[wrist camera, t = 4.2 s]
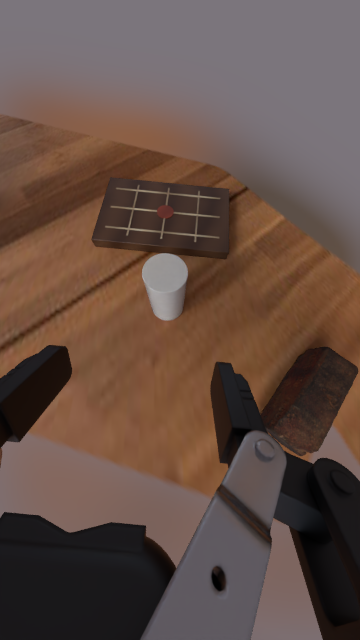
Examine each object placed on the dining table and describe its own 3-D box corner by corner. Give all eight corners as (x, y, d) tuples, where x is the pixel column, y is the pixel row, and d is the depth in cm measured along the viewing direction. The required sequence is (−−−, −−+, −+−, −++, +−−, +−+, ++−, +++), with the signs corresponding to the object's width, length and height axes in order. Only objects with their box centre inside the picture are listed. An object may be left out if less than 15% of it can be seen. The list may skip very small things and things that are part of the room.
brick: (298, 350, 23) (327, 343, 19) (326, 371, 23) (363, 369, 18) (253, 421, 21) (275, 432, 16) (283, 447, 20) (315, 466, 15)
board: (95, 246, 28) (90, 238, 26) (113, 186, 32) (110, 176, 30) (226, 259, 28) (229, 252, 26) (226, 197, 32) (229, 188, 30)
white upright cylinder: (149, 318, 24) (138, 290, 17) (153, 289, 26) (145, 251, 18) (182, 322, 24) (186, 294, 17) (184, 292, 26) (189, 255, 18)
